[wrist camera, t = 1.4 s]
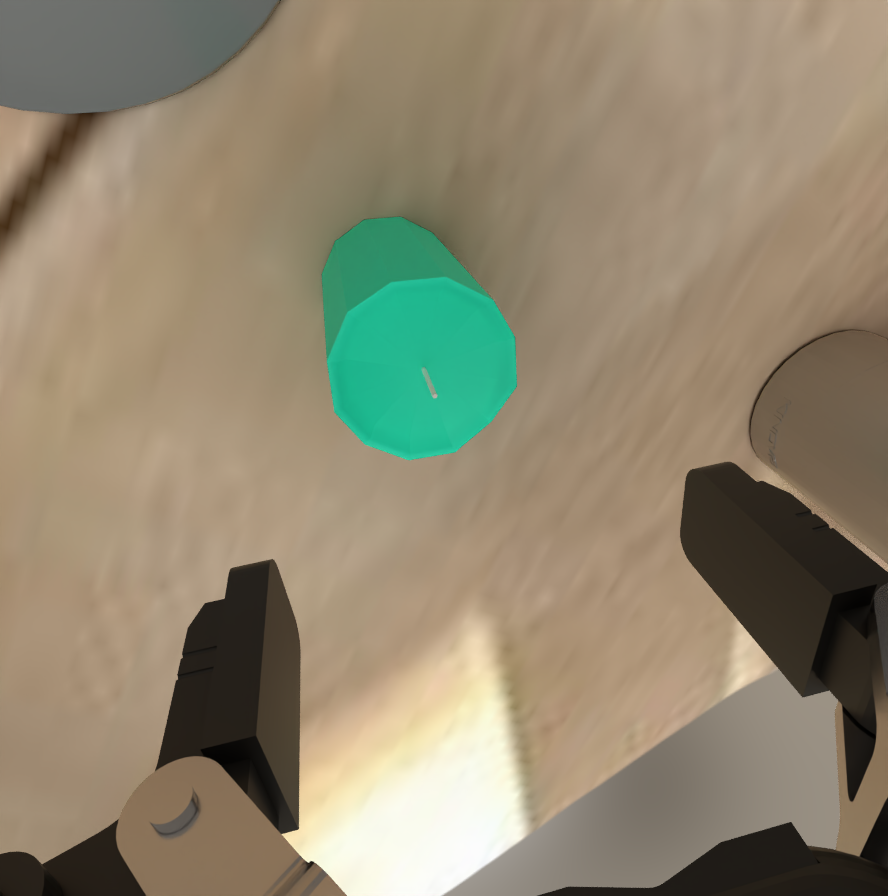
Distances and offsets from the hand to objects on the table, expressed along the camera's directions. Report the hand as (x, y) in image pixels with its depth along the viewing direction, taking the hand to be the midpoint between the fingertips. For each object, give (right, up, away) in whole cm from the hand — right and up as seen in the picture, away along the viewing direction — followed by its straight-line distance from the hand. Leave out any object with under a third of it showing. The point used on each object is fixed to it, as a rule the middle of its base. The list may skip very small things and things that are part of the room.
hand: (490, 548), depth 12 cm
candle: (-3, +9, +16) cm, 19 cm away
